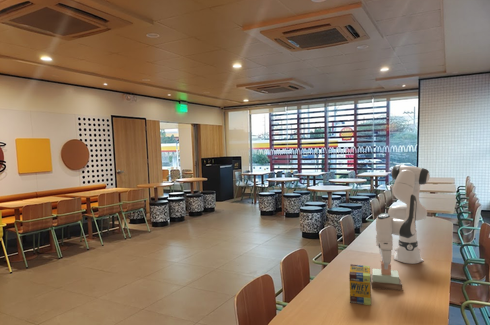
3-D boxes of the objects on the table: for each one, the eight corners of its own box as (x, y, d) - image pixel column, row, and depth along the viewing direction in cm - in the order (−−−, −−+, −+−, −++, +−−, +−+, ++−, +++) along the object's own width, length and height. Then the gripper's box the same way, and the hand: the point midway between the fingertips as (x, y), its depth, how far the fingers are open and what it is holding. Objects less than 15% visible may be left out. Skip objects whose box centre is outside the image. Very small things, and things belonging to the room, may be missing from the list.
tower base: (370, 280, 198) (370, 274, 198) (398, 282, 193) (398, 276, 193) (372, 289, 186) (371, 282, 186) (402, 291, 182) (402, 284, 182)
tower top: (372, 274, 197) (372, 268, 197) (397, 277, 192) (397, 270, 192) (372, 281, 188) (372, 274, 187) (399, 284, 182) (399, 277, 182)
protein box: (349, 303, 170) (349, 274, 170) (351, 290, 185) (350, 263, 184) (371, 305, 167) (370, 276, 166) (370, 292, 181) (369, 265, 180)
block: (380, 271, 192) (380, 261, 192) (390, 271, 191) (389, 261, 190) (381, 274, 187) (381, 264, 187) (391, 275, 186) (390, 264, 186)
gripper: (376, 237, 199) (377, 259, 200) (380, 247, 179) (381, 272, 180) (387, 237, 197) (388, 259, 198) (393, 248, 177) (393, 272, 178)
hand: (384, 265), depth 189 cm, fingers open, 8 cm apart
